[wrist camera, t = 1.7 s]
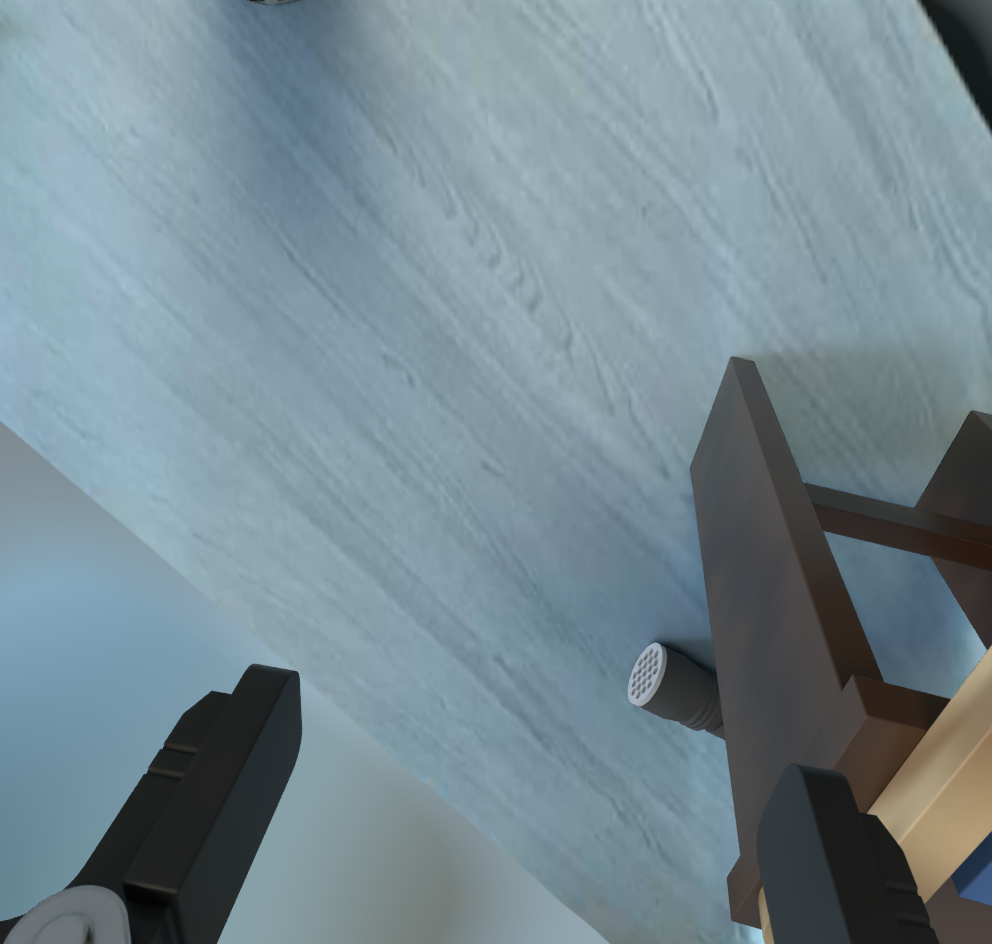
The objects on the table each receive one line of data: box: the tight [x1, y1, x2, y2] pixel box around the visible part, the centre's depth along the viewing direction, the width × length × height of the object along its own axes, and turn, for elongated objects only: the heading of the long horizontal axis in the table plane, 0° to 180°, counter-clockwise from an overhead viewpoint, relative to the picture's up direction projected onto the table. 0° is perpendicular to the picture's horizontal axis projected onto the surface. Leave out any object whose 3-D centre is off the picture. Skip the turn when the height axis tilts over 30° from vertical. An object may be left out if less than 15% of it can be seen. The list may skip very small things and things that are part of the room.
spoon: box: [758, 645, 992, 944], centre depth 19 cm, size 19×5×2 cm, turn 170°
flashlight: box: [628, 643, 725, 740], centre depth 59 cm, size 15×5×5 cm, turn 65°
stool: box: [690, 357, 992, 944], centre depth 35 cm, size 11×18×32 cm, turn 80°
